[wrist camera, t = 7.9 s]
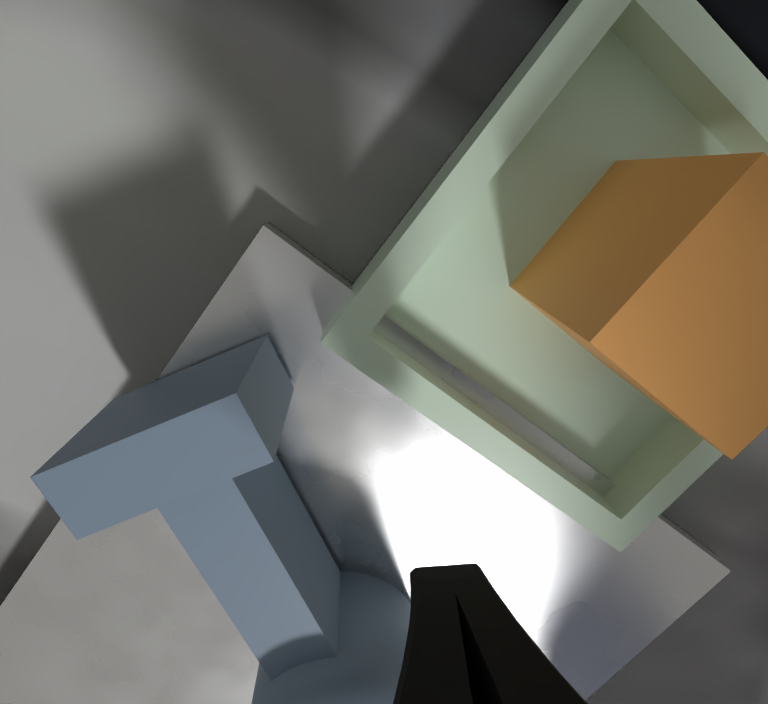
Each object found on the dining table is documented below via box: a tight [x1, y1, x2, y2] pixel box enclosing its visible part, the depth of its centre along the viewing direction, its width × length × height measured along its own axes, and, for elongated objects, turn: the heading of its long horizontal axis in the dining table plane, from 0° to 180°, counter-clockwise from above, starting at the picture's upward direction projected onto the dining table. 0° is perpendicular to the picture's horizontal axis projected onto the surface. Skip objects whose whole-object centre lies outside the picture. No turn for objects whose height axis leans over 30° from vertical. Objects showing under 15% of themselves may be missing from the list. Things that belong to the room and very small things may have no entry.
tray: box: [320, 0, 768, 552], centre depth 14 cm, size 11×11×2 cm
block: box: [510, 152, 768, 460], centre depth 12 cm, size 4×4×5 cm
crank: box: [30, 335, 411, 704], centre depth 13 cm, size 12×5×4 cm, turn 22°
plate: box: [0, 223, 731, 704], centre depth 17 cm, size 18×18×1 cm
